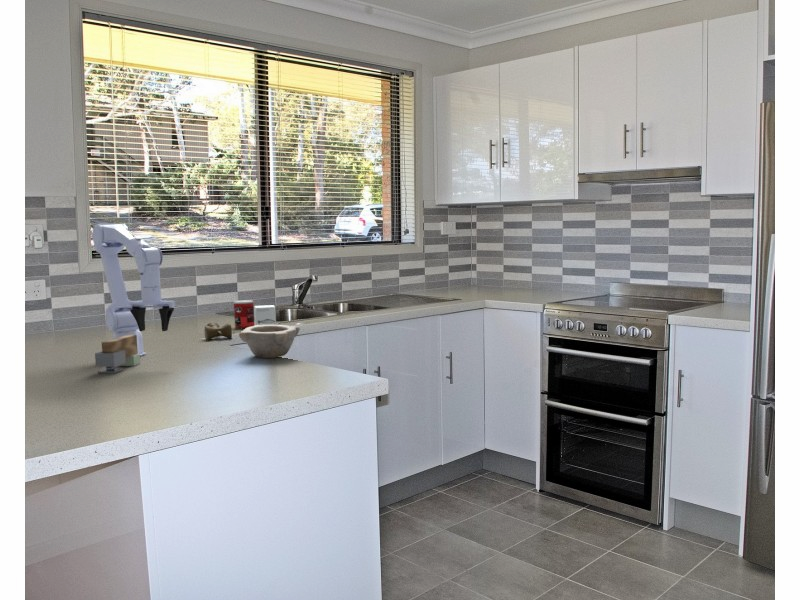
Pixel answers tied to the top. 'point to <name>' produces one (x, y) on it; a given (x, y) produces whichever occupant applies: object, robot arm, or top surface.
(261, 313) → the supplement box
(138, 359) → the block
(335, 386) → the top surface
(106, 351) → the walnut rail
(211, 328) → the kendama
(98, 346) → the top surface
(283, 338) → the mortar
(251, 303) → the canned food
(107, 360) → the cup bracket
